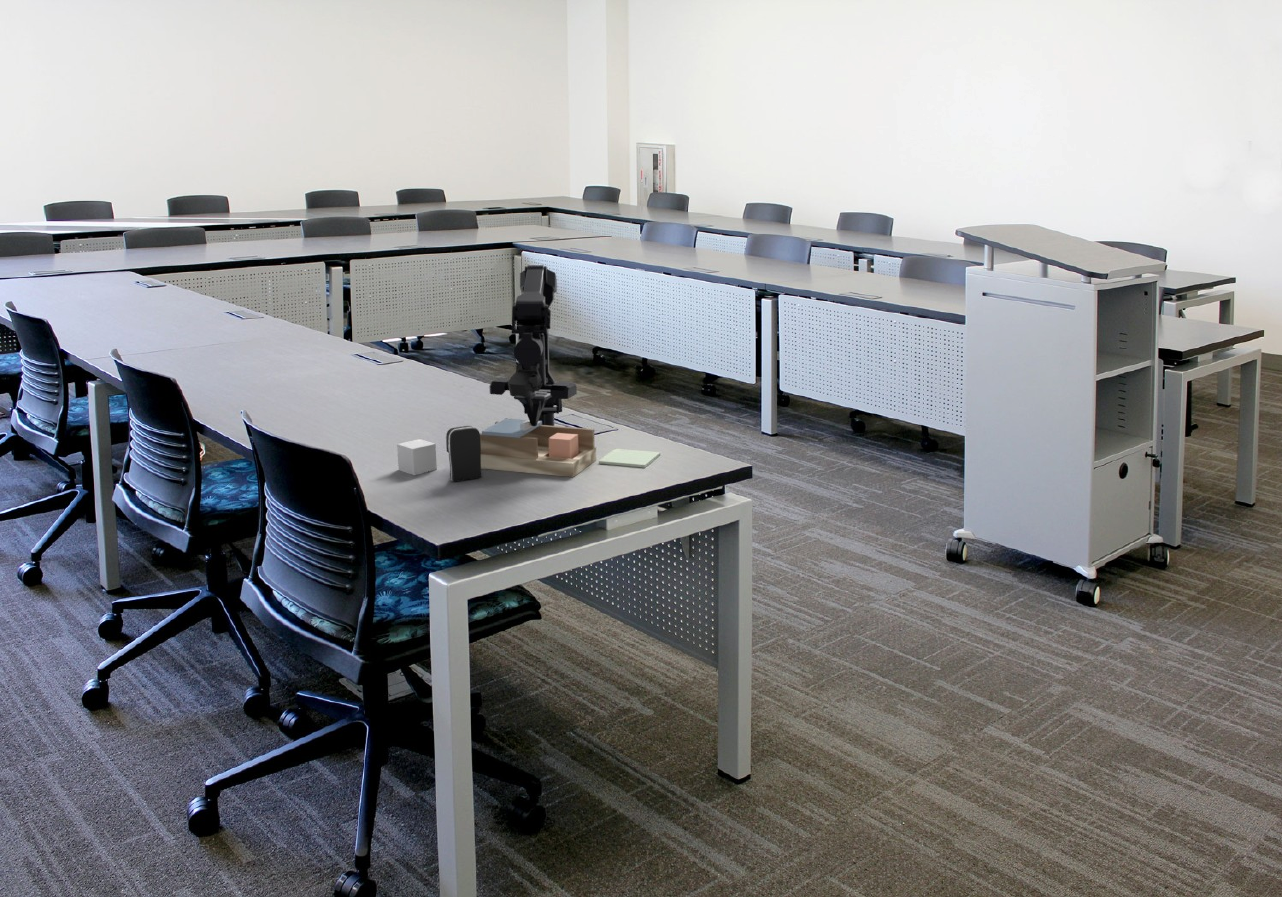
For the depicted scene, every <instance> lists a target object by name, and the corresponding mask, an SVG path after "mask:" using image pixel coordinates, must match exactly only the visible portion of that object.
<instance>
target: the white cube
mask: <svg viewBox="0 0 1282 897" xmlns="http://www.w3.org/2000/svg"><path fill="white" fill-rule="evenodd" d="M396 447H397V450H396V451H397V462H398V463H397V464H398V465H397V466H398V471H401V472H404V473H407V474H410V475H413V476H416V475H420V474H425V473H428V471H429V472H432V471H436V470H437V471H438V467H437V466H438V465H437V463H438V462H437V448H436V443H434V442H430V441H428V440H427V441H426V440H424V439H420V438H418V439H413V440H410V441H405V442H404V441H403V442H400V443H396ZM424 472H425V473H424Z"/></svg>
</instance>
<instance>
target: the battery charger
mask: <svg viewBox="0 0 1282 897" xmlns="http://www.w3.org/2000/svg"><path fill="white" fill-rule="evenodd" d="M480 433H481V432H480V430H479V429H478V428H477V427H475V426H473V425H463V426H456V427H452V428H449V429H448V430H447V432H446V434H445V435H446V436H445V440H446V441H445V442H446V443H445V444H446V452H447V453H448V460H449V461H448V462H449V478H450V480H451V481H452V482H462V481H468V480H475V479H480V478H481V477H482V468H481V441H480Z"/></svg>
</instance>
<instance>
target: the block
mask: <svg viewBox="0 0 1282 897" xmlns="http://www.w3.org/2000/svg"><path fill="white" fill-rule="evenodd" d="M577 455H579V453H578V434H566V433H556V434H555V435H553V436H551V437H550V438H549V457H557V458H569V459H573V458H575V457H576V456H577Z"/></svg>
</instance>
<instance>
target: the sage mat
mask: <svg viewBox="0 0 1282 897" xmlns="http://www.w3.org/2000/svg"><path fill="white" fill-rule="evenodd" d="M660 456H661V452H658V451H650V450H649V451H648V450H635V449H625V448H624V449H622V448H614V449H613V450H611V451H610V452H609V453H607V454H606V455H605V456H603V457H602V458H601V459H599V460H598V464H601V465H611V466H622V467H623V466H624V467H632V468H644V469H646V467H648V466H649V465H651V463H653V461H655V460H656V459H658V458H659V457H660Z"/></svg>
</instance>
